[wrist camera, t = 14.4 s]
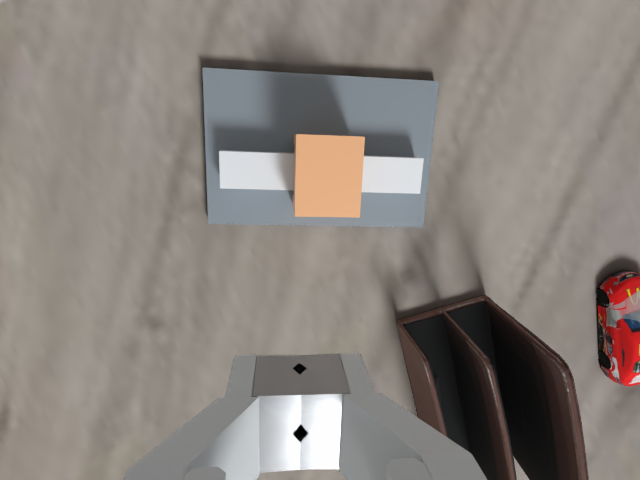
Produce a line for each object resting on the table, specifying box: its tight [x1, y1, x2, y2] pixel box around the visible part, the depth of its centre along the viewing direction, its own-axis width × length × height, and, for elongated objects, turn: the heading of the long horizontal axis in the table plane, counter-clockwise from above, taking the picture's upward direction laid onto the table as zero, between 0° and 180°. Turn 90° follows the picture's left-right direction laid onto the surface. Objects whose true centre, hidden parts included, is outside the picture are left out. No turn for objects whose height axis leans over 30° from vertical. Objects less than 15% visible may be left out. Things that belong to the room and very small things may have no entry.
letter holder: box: [397, 296, 589, 480], centre depth 36 cm, size 10×20×14 cm, turn 15°
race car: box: [596, 271, 640, 386], centre depth 41 cm, size 13×5×4 cm, turn 12°
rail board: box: [202, 68, 439, 227], centre depth 33 cm, size 20×13×3 cm, turn 88°
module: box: [293, 134, 365, 218], centre depth 31 cm, size 5×6×6 cm
